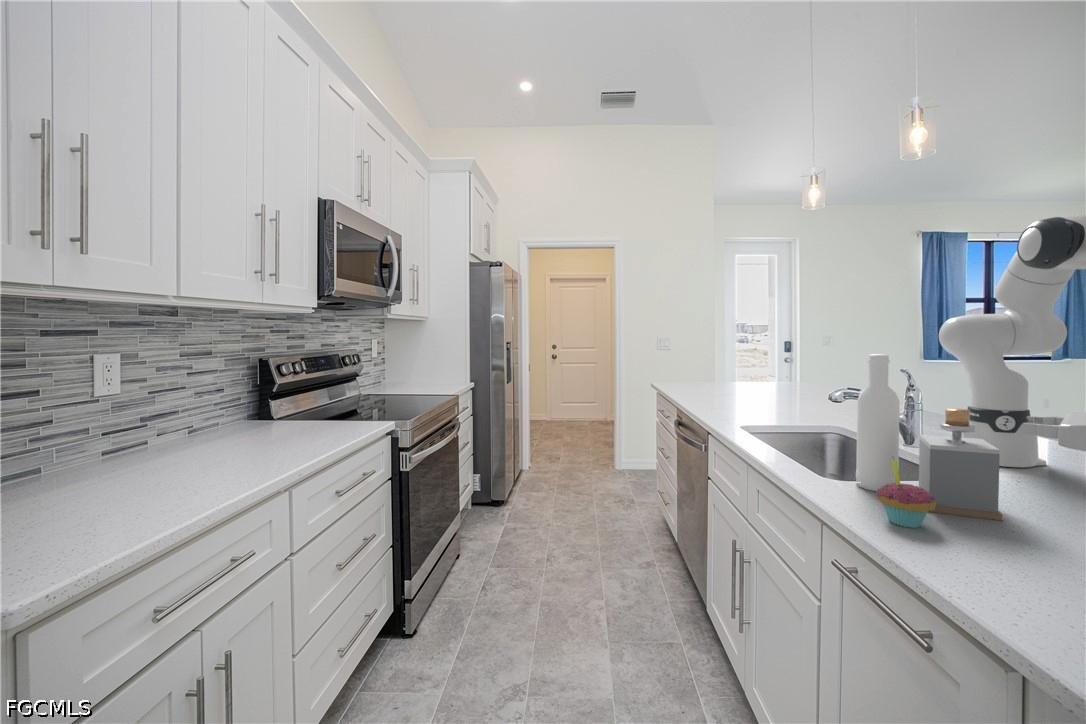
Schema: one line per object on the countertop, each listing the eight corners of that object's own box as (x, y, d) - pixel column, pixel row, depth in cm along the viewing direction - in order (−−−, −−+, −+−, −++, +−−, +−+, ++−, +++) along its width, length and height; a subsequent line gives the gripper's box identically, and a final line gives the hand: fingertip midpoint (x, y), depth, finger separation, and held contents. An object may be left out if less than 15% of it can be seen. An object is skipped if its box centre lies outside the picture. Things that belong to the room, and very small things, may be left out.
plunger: (927, 490, 99) (928, 406, 98) (974, 496, 95) (976, 408, 94) (935, 502, 92) (937, 411, 92) (987, 508, 89) (989, 413, 88)
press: (915, 494, 101) (916, 434, 101) (983, 501, 96) (984, 438, 95) (926, 511, 92) (927, 445, 91) (1002, 520, 86) (1004, 450, 86)
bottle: (865, 491, 104) (867, 355, 102) (849, 481, 111) (850, 354, 110) (906, 493, 102) (909, 354, 101) (887, 482, 110) (889, 353, 108)
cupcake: (870, 522, 87) (871, 458, 87) (884, 510, 93) (885, 450, 92) (929, 536, 81) (930, 467, 80) (940, 523, 86) (942, 458, 85)
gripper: (1147, 408, 81) (1032, 401, 92) (1151, 423, 69) (1017, 413, 79) (1146, 444, 82) (1031, 433, 92) (1150, 466, 69) (1016, 450, 80)
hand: (1024, 424), depth 86 cm, fingers open, 8 cm apart
